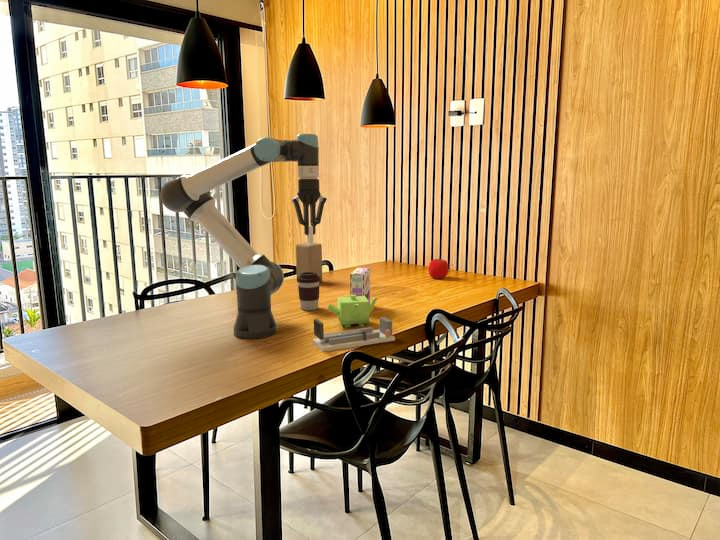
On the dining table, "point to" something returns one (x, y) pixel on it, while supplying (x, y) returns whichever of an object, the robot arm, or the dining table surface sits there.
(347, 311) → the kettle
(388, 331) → the small salmon eraser
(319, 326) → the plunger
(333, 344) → the base
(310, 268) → the wooden block
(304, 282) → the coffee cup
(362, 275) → the candy box
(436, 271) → the tomato
